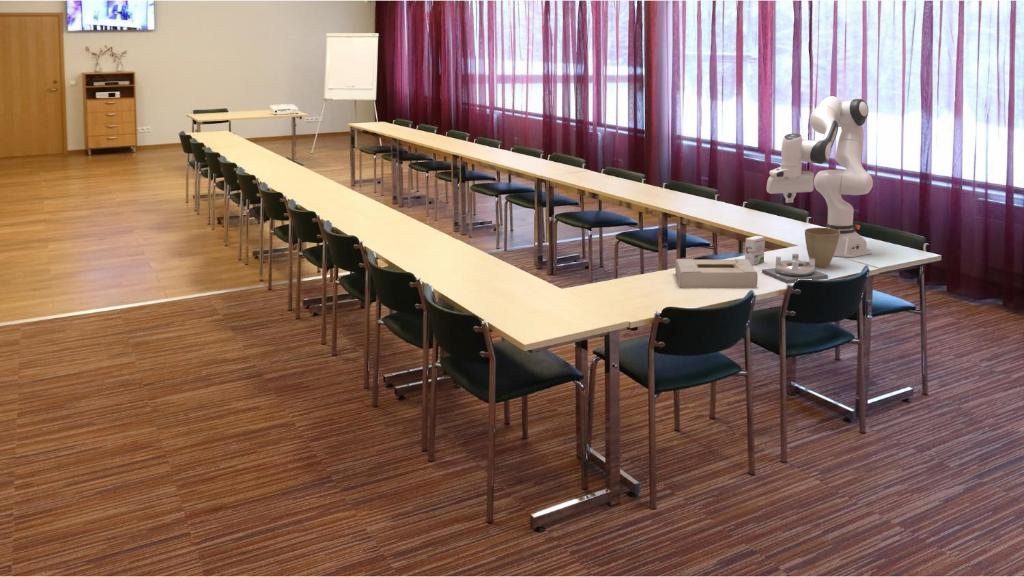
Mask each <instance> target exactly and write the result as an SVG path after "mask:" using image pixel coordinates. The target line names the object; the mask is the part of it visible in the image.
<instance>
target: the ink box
mask: <svg viewBox="0 0 1024 577" xmlns="http://www.w3.org/2000/svg"><path fill="white" fill-rule="evenodd" d="M765 247H766V237H765V236H761V235H754V236H751V237H746V238H745V248H744V249H745V252H744V259H748V260H749V261H750V263H751V265H752V266H755V265H758V264H760V263H761V264H762V263H764V262H765Z"/></svg>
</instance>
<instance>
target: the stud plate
mask: <svg viewBox="0 0 1024 577" xmlns="http://www.w3.org/2000/svg"><path fill="white" fill-rule="evenodd" d="M775 268H776V267H772V268H764V269H761V274H764V275H767V276H768V277H771V278H774V279H776V280H779V281H781V282H783V283H786V284H792V283H794V284H795V283H796V282H795V281H797V280H798V279H812V280H811V281H818V280H828V279H829V275H828V274H827V273H823V272H822V271H817V270H816V269H814V274H812V275H809V276H787V275H782V274H779V273H777V272H776V271H775Z"/></svg>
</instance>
